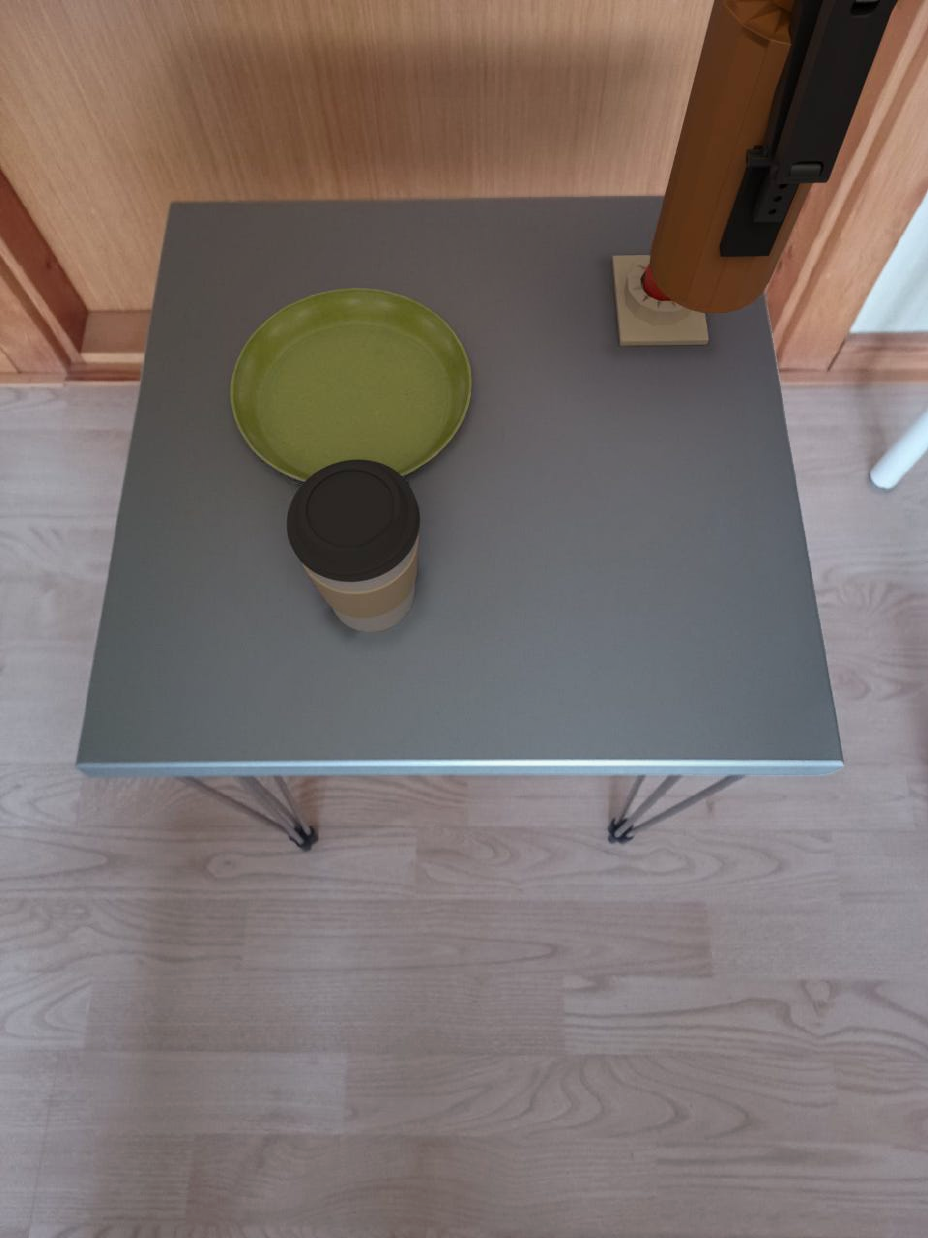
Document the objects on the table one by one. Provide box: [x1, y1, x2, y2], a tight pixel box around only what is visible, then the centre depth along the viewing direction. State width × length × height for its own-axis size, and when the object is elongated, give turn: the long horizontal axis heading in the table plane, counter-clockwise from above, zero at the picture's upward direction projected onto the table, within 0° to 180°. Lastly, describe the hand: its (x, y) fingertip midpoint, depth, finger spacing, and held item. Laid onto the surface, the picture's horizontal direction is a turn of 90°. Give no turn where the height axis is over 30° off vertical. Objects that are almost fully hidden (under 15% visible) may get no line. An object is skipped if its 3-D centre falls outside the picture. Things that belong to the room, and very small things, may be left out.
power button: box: [643, 263, 671, 301], centre depth 78 cm, size 4×4×2 cm
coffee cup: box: [286, 459, 421, 633], centre depth 64 cm, size 9×9×15 cm
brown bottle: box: [649, 0, 814, 315], centre depth 45 cm, size 8×8×23 cm
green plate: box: [229, 287, 472, 483], centre depth 76 cm, size 21×21×3 cm
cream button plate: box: [611, 254, 710, 347], centre depth 80 cm, size 10×8×2 cm
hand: (734, 194), depth 50 cm, fingers closed on brown bottle, 8 cm apart
